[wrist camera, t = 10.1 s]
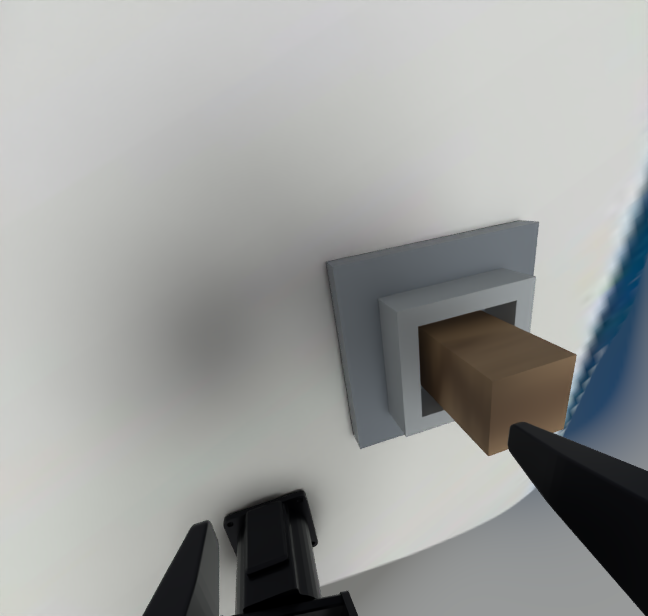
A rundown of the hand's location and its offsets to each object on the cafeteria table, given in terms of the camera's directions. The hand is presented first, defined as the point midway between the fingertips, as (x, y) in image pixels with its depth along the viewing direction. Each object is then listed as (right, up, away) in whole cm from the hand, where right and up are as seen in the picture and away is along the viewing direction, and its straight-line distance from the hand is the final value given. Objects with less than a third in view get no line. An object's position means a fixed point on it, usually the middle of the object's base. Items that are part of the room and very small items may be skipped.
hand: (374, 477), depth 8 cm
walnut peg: (+7, +2, +12) cm, 14 cm away
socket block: (+6, +3, +14) cm, 15 cm away
